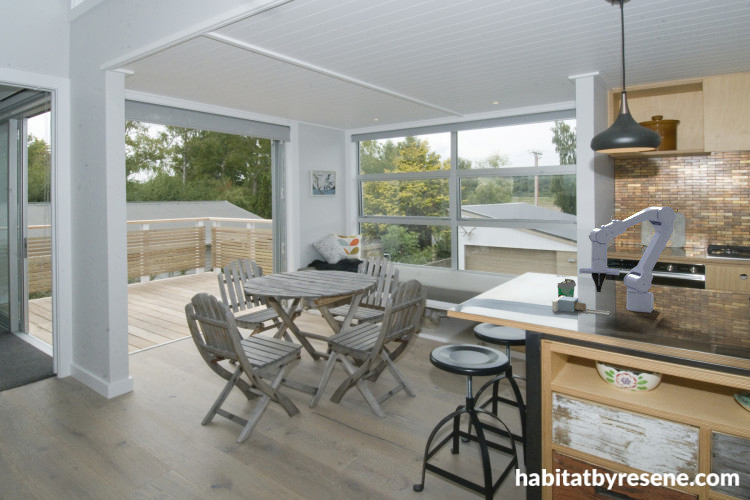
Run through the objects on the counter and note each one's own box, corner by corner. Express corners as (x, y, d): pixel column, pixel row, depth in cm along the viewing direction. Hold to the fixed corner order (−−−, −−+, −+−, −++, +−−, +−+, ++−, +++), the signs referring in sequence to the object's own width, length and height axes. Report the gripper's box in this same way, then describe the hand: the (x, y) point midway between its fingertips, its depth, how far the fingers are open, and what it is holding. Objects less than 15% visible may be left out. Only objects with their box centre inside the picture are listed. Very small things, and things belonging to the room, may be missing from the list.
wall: (565, 308, 202) (565, 295, 201) (556, 314, 192) (556, 301, 192) (561, 308, 203) (561, 295, 202) (552, 314, 193) (552, 301, 193)
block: (578, 311, 196) (578, 297, 195) (573, 315, 191) (573, 301, 190) (563, 309, 200) (563, 296, 199) (558, 313, 194) (558, 299, 194)
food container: (571, 306, 205) (572, 284, 203) (557, 305, 208) (557, 283, 207) (579, 300, 214) (579, 279, 213) (565, 299, 218) (565, 278, 217)
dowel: (585, 311, 192) (586, 304, 193) (584, 310, 190) (584, 303, 190) (565, 309, 197) (566, 302, 197) (563, 308, 195) (564, 300, 195)
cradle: (610, 315, 187) (610, 311, 187) (607, 318, 183) (607, 314, 183) (586, 313, 193) (586, 308, 193) (583, 315, 189) (583, 311, 189)
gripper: (619, 257, 188) (619, 290, 189) (580, 256, 195) (580, 288, 196) (619, 260, 182) (618, 294, 183) (578, 259, 189) (578, 291, 190)
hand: (598, 291), depth 189 cm, fingers closed
